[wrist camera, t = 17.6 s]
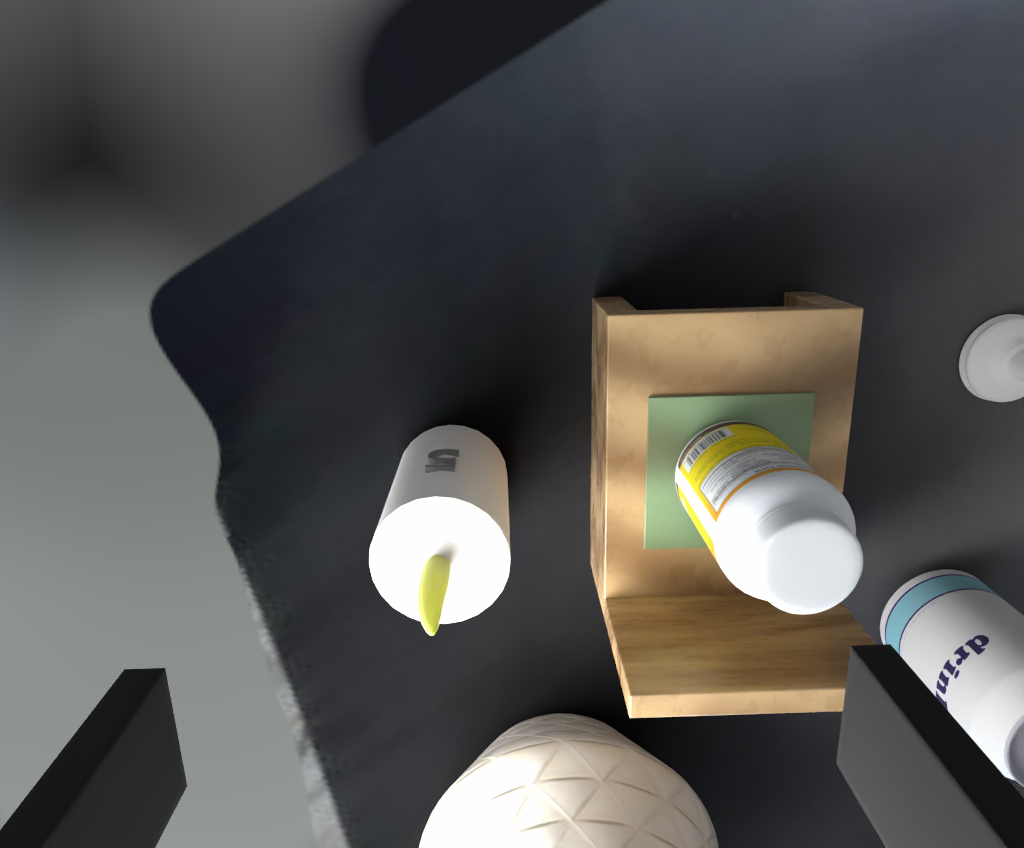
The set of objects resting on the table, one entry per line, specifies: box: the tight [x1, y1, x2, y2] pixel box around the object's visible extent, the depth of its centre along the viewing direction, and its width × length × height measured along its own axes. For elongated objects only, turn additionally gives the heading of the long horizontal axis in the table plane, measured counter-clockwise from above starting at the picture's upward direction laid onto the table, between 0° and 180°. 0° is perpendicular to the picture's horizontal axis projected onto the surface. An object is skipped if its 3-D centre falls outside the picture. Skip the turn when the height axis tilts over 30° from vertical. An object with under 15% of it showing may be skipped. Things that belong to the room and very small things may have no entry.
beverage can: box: [880, 569, 1024, 787], centre depth 41 cm, size 7×7×12 cm
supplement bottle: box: [675, 420, 863, 614], centre depth 32 cm, size 6×6×10 cm
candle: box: [369, 425, 510, 635], centre depth 37 cm, size 6×6×15 cm
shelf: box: [591, 291, 877, 718], centre depth 37 cm, size 16×12×14 cm
